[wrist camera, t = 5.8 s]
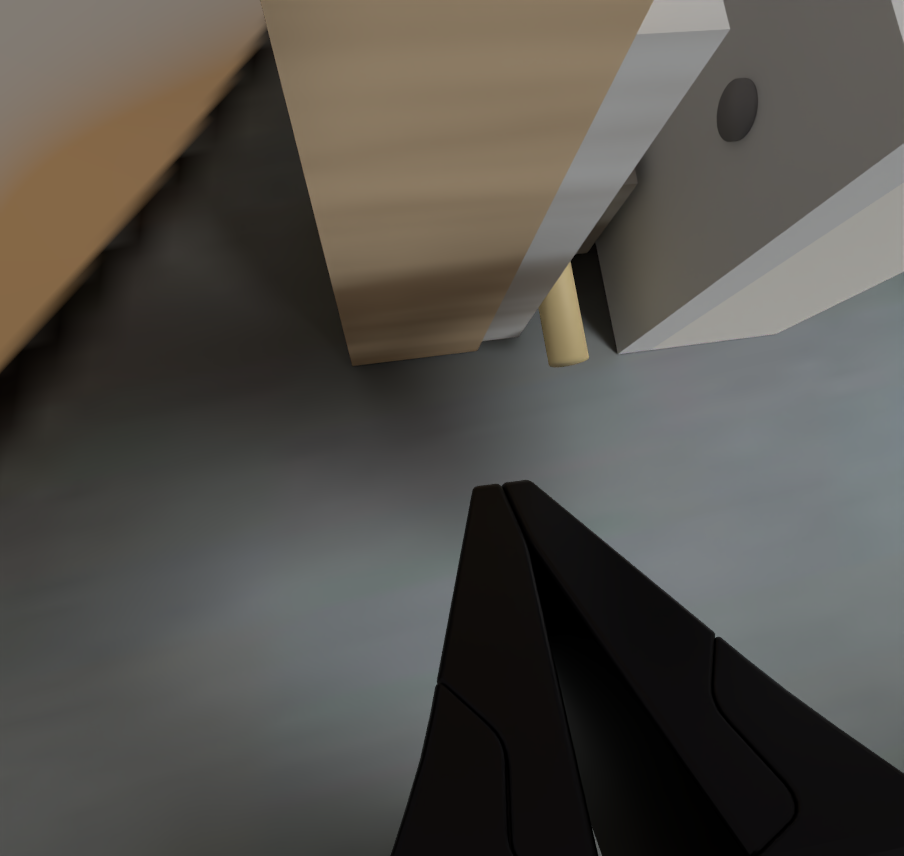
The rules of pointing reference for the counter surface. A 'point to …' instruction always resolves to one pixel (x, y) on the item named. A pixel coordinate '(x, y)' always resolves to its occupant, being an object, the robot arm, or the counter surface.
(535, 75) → the light wood tall block
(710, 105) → the frame leaf
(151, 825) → the counter surface
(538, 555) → the robot arm
